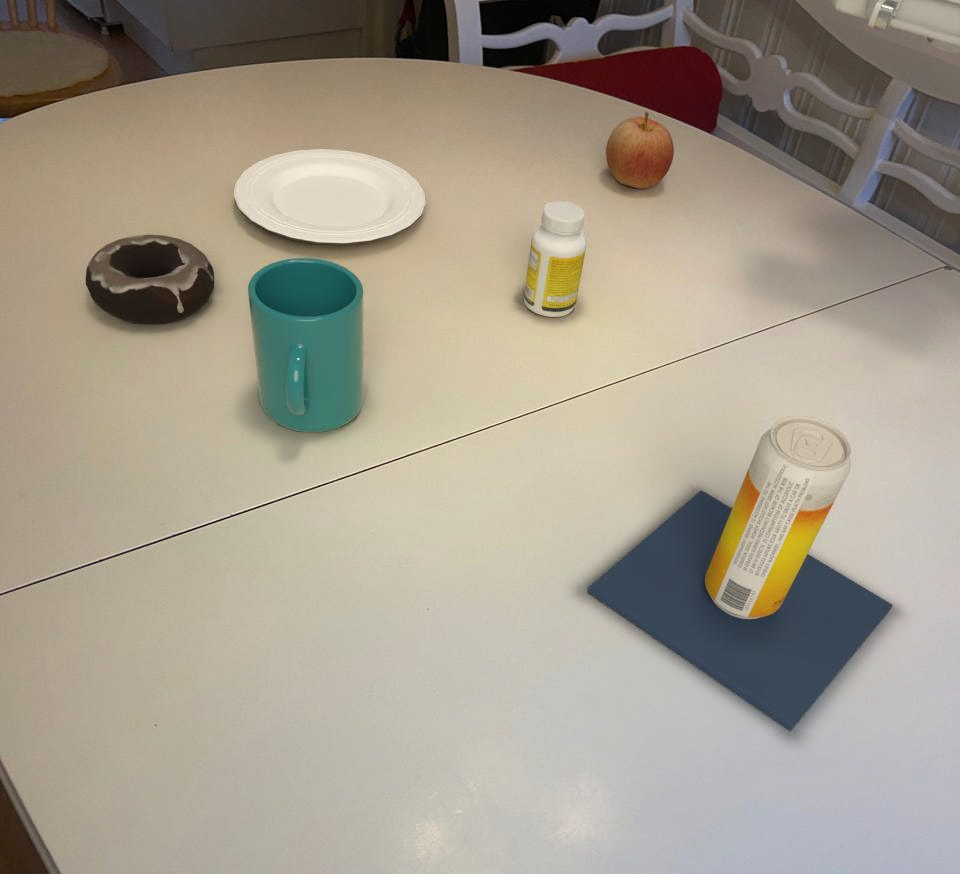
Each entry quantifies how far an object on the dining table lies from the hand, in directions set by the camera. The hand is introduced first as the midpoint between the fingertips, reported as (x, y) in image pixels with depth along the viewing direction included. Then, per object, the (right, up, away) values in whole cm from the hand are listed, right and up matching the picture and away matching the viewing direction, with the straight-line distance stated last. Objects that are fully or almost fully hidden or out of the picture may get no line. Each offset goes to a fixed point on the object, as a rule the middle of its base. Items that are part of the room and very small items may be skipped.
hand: (936, 34), depth 76 cm
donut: (-68, -15, +16) cm, 72 cm away
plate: (-53, -1, +30) cm, 61 cm away
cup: (-51, -29, +7) cm, 59 cm away
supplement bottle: (-29, -14, +22) cm, 39 cm away
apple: (-18, +7, +41) cm, 45 cm away
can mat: (-16, -45, -2) cm, 48 cm away
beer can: (-16, -45, -2) cm, 48 cm away
